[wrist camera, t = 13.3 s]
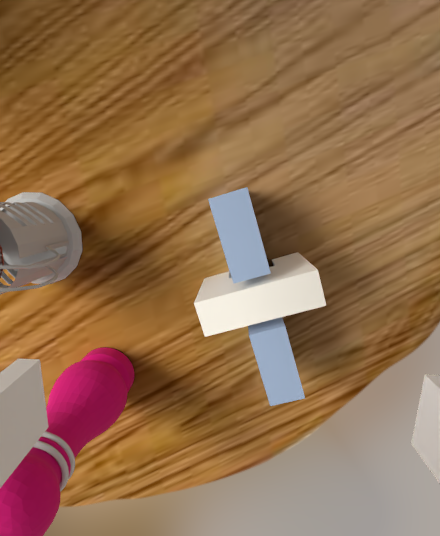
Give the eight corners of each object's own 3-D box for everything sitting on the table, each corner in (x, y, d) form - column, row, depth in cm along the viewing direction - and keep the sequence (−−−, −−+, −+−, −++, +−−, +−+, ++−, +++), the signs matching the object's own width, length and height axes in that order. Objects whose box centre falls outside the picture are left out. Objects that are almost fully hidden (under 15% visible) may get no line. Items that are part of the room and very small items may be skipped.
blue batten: (215, 198, 31) (208, 199, 23) (244, 190, 31) (247, 187, 23) (262, 359, 34) (270, 406, 27) (289, 352, 34) (305, 398, 26)
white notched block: (212, 304, 33) (204, 336, 26) (204, 278, 33) (193, 303, 25) (304, 279, 32) (326, 305, 24) (298, 252, 32) (317, 269, 24)
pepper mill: (137, 343, 35) (9, 527, 15) (141, 400, 36) (29, 633, 17) (74, 342, 35) (-128, 519, 16) (80, 398, 37) (-96, 624, 17)
